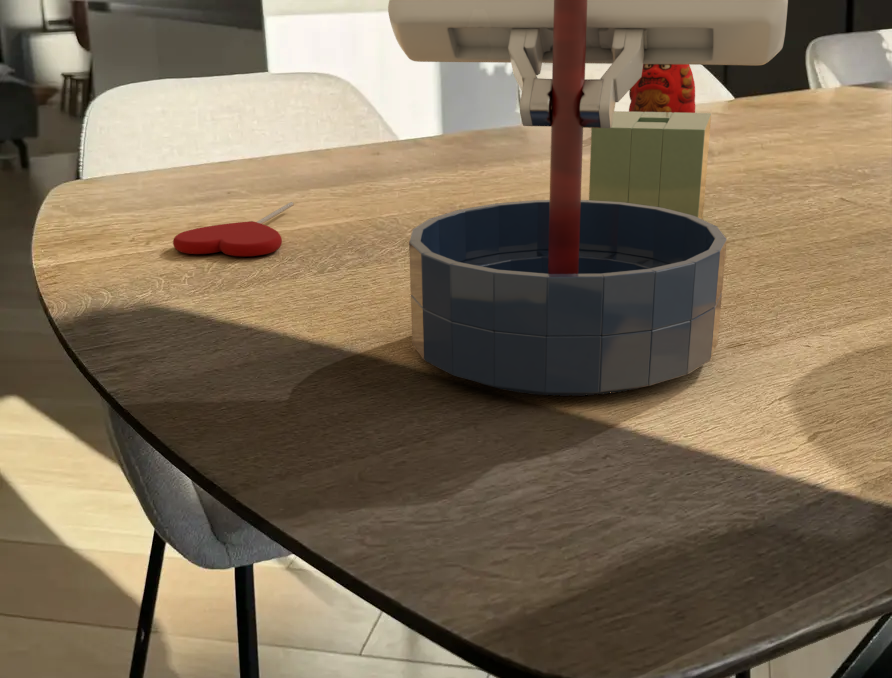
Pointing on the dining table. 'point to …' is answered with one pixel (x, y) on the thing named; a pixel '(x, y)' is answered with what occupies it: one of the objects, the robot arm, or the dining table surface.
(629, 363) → the bowl
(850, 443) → the dining table surface
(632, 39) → the robot arm
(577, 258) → the stirring stick
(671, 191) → the block
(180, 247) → the lollipop
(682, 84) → the red clay folk toy
